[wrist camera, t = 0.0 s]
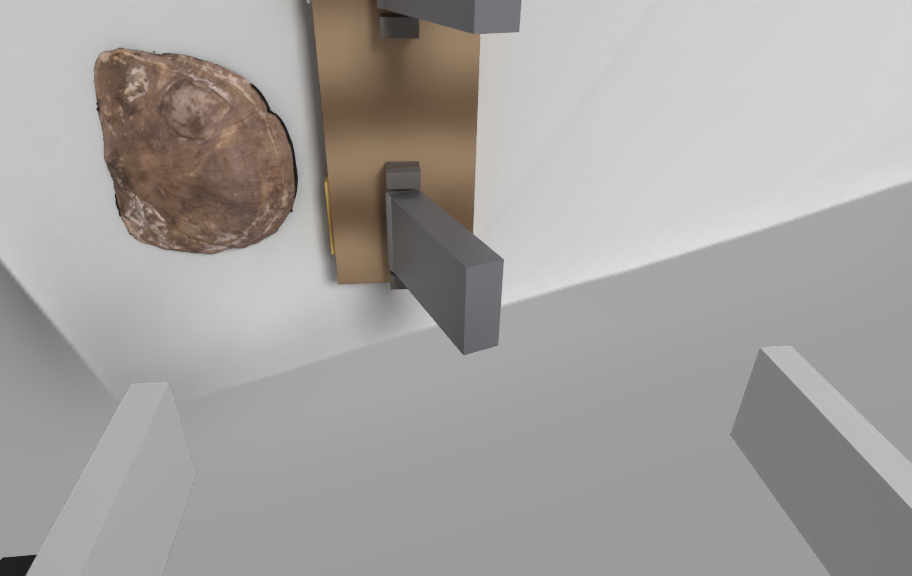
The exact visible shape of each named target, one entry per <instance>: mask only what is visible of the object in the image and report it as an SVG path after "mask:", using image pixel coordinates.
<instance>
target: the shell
mask: <svg viewBox="0 0 912 576" xmlns="http://www.w3.org/2000/svg"><path fill="white" fill-rule="evenodd" d="M154 52H155V51H154ZM94 77H95V79H94V83H95V90H96V97H97V103H96V104H97V105H98V108H97V111H98V112H99V118H100V121H101V125H102V131H103V136H104V138H103V140H104V159H105V161H106V163H107V166H108V169H109V171H110V173H111V177H112V178H113V181H114V188H115V192H116V193H115V198H116V205H117V208H118V210H119V215H120V216H121V217H122V220H123V221H124V223H125V225H126V227H127V228H128V229H127V230H128V231H129V232H130V233H129V234H131V235H133V236H134V237H135V239H138V240H139V241H140V242H142V243H147V244H152V245H155V246H158V247H159V248H162V249H167V250H177V251H184V252H191V253H208V254H215V253H218V252H221V251H223V250H226V249H231V248H246V247H247V246H248V245H251V244H256V243H258V242H260V241H261V240H263V239H264V238H266V237H268V236H270V235H272V234H274V233H276V232H277V231H278V229H279V227H280V226H281V224H282V223H283V222H284V221H285V219H286V217H287V215H288V214H289V212H292V211H293V210H292V208H293V204H294V200H295V197H296V193H297V184H298V175H297V168H296V161H295V154H294V148H293V144H292V141H291V138H290V136H289V133H288V131H287V128H286V126H285V124H284V123H283V121H282V120H281V118H280V117H279V116H278V115H277V114H276V113H273V112H272V111H271V110H270V108H269V105H268V103H267V101H266V99H265V98H264V96H263V95H262V93H261V92H260V91H259V90H258V88H257V87H255V86H254V85H253V84H250V83H248V82H247V80H246V79H245V78H243V77H242V76H240V75H238V74H236V73H235V72H233V71H230V70H228V69H226V68H224V67H221V66H219V65H217V64H214V63H211V62H208V61H203V60H200V59H197V58H194V57H191V56H186V55H180V54H170V53H164V54H162V55H160V54H154V53H148V52H144V51H138V50H129V49H123V48H118V49H115V50H114V51H104V52H103V53H101V54H100V55H99V57H98V58H97V60H96V62H95V67H94Z"/></svg>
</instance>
